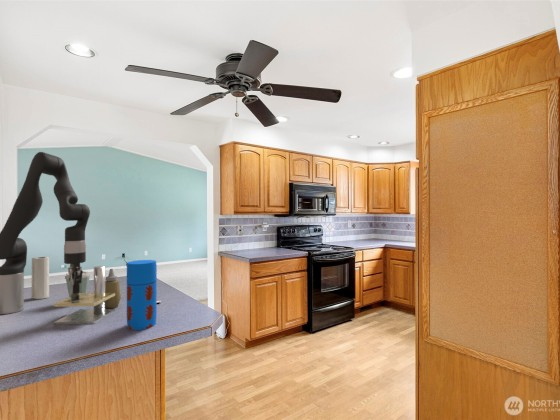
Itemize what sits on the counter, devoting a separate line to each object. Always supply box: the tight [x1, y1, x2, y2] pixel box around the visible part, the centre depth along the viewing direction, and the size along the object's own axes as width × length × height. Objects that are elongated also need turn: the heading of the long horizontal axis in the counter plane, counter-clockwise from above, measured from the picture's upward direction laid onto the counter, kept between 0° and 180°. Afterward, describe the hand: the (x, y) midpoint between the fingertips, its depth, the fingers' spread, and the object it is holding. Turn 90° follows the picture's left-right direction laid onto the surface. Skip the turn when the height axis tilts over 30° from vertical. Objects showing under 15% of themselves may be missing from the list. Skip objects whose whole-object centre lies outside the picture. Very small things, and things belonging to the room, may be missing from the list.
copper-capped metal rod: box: [69, 266, 80, 301], centre depth 127 cm, size 3×3×14 cm
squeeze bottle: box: [105, 268, 122, 309], centre depth 144 cm, size 8×8×18 cm
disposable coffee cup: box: [64, 270, 91, 302], centre depth 151 cm, size 11×11×15 cm
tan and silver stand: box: [53, 265, 116, 325], centre depth 130 cm, size 16×16×21 cm
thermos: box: [126, 259, 158, 331], centre depth 120 cm, size 11×11×25 cm
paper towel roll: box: [31, 256, 50, 300], centre depth 160 cm, size 7×6×21 cm
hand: (75, 292), depth 127 cm, fingers closed on copper-capped metal rod, 3 cm apart
